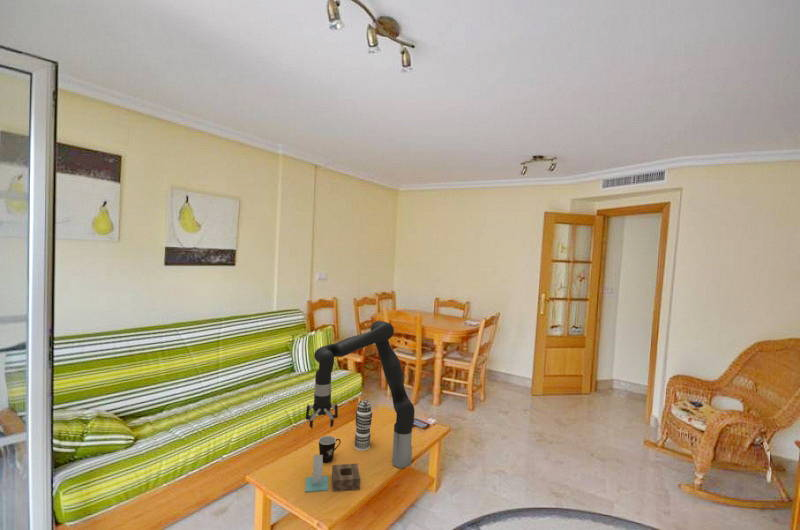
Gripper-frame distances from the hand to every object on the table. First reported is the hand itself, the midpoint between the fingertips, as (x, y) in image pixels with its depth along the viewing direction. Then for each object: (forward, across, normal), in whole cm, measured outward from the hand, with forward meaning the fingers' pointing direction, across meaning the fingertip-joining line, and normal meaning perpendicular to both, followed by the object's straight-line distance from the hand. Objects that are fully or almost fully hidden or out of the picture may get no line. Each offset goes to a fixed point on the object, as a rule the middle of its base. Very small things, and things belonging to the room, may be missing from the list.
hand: (321, 427), depth 168 cm
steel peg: (+26, +1, +1) cm, 26 cm away
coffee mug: (+26, -5, -19) cm, 33 cm away
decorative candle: (+27, -23, -29) cm, 46 cm away
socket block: (+26, -12, +1) cm, 29 cm away
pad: (+26, +1, +1) cm, 26 cm away
